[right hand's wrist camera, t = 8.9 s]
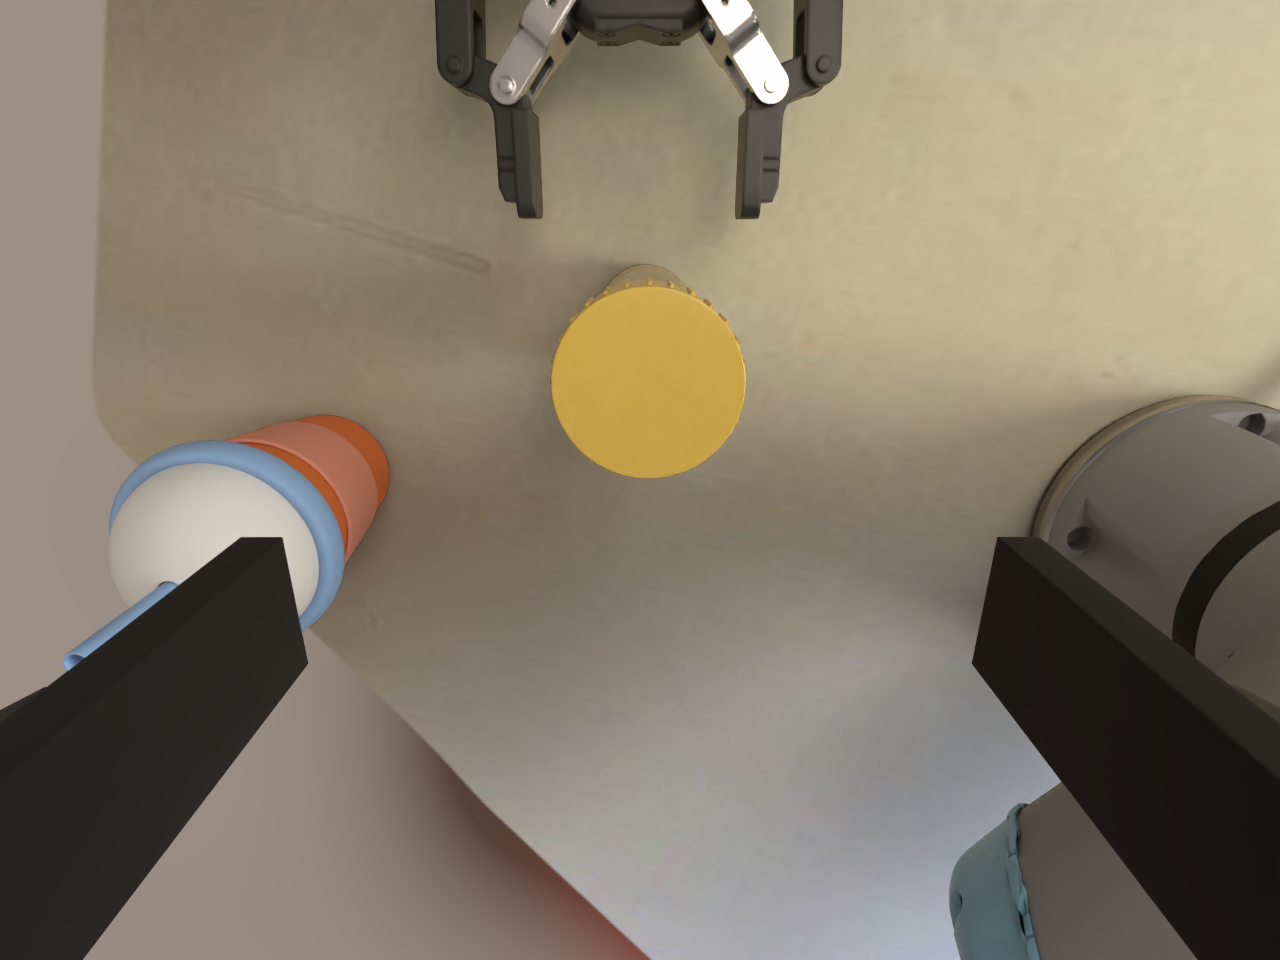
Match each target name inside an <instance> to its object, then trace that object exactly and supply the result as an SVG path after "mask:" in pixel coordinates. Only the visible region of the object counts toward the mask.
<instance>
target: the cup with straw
mask: <svg viewBox="0 0 1280 960" xmlns="http://www.w3.org/2000/svg"><path fill="white" fill-rule="evenodd" d="M388 485H389V467H388V463H387V459H386V457H385V454H384V452H383V450H382V448H381V447H380V445H379V444H378V442H377V441H376V440H375V439H374V437H373V436H372V435H371V434H370V433H369V432H367V431H366V430H365V429H364V428H362V427H361V426H359V425H358V424H356V423H354V422H352V421H350V420H347V419H344V418H341V417H337V416H331V415H316V416H311V417H307V418H303V419H300V420H297V421H294V422H282V423H277V424H274V425H270V426H267V427H264V428H261V429H258V430H255V431H252V432H249V433H246V434H243V435H240V436H237V437H234V438H231V439H227V440H224V441H216V440H208V441H195V442H188V443H184V444H180V445H176V446H173V447H171V448H168V449H165V450H163V451H161V452H159V453H157V454H155V455H153V456H152V457H150V458H149V459H147V460H146V461H144V462H143V463H142V464H141V465H139V466H138V467H137V468H136V469H135V470H134V471H133V472H132V473H131V474H130V475H129V477H128V478H127V479H126V480H125V482H124V483H123V484H122V486H121V487H120V489H119V491H118V493H117V495H116V497H115V500H114V503H113V506H112V510H111V514H110V522H109V543H108V563H109V569H110V573H111V577H112V580H113V583H114V585H115V587H116V590H117V591H118V593H119V595H120V597H121V598H122V600H123V601H124V603H125V604H126V605H127V607H128V608H129V609H128V610H126V611H125V612H123V613H122V614H121V615H119V616H118V617H117V618H115V619H114V620H113V621H111V622H110V623H108V624H107V625H106V626H104V627H103V628H102V629H100V630H99V631H97V632H96V633H95V634H93V635H92V636H91V637H89V638H88V639H87V640H85V641H84V642H82V643H81V644H80V645H78V646H77V647H76V648H74V649H73V650H72V651H70V652H69V653H67V654H66V655H65V656H64V658H63V666H64V668H65V669H66V670H67V671H69V670H70V669H71V668H72V667H74V666H75V665H76V664H78V663H79V662H80V661H81V660H83V659H84V658H85V657H87V656H88V655H89V654H90V653H92V652H93V651H94V650H96V649H97V648H98V647H100V646H101V645H102V644H103V643H105V642H106V641H107V640H109V639H110V638H111V637H112V636H114V635H115V634H116V633H118V632H119V631H120V630H121V629H123V628H124V627H125V626H127V625H128V624H129V623H131V622H132V621H133V620H134V619H136V618H137V617H138V616H140V615H141V614H142V613H143V612H145V611H146V610H147V609H149V608H150V607H151V606H152V605H154V604H155V603H156V602H158V601H159V600H160V599H161V598H163V597H164V596H165V595H167V594H168V593H169V592H171V591H172V590H173V589H174V588H176V587H177V586H178V585H180V584H181V583H182V582H183V581H185V580H186V579H187V578H189V577H190V576H191V575H192V574H194V573H195V572H196V571H198V570H199V569H200V568H202V567H203V566H204V565H205V564H207V563H208V562H209V561H211V560H212V559H213V558H214V557H216V556H217V555H218V554H220V553H221V552H222V551H223V550H225V549H226V548H227V547H229V546H230V545H231V544H232V543H234V542H235V541H236V540H238V539H239V538H240V537H283V542H284V547H285V552H286V557H287V562H288V567H289V572H290V577H291V581H292V586H293V591H294V596H295V601H296V606H297V611H298V616H299V621H300V626H301V631H304V630H305V629H307V628H308V627H310V626H311V625H312V624H314V623H315V622H316V621H317V620H318V619H319V618H320V617H321V616H322V615H323V614H324V612H325V611H326V610H327V609H328V608H329V606H330V605H331V603H332V602H333V600H334V598H335V596H336V594H337V592H338V590H339V587H340V584H341V581H342V577H343V573H344V566H345V564H346V563H347V561H348V559H349V558H350V556H351V555H352V553H353V552H354V550H355V549H356V547H357V546H358V544H359V543H360V541H361V540H362V538H363V536H364V535H365V533H366V532H367V530H368V529H369V527H370V526H371V524H372V521H373V519H374V517H375V513H376V510H377V508H378V507H379V505H380V504H381V502H382V501H383V499H384V497H385V495H386V492H387V489H388Z"/></svg>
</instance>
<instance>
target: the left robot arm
mask: <svg viewBox="0 0 1280 960" xmlns="http://www.w3.org/2000/svg"><path fill="white" fill-rule="evenodd" d="M723 1H724V2H726V3H727V5H724V4H723V3H722V2H723ZM552 2H555V3H556V4H555V5H554V6H550V5H551V3H552ZM435 15H436V42H437V65H438V70H439V72H440V74H441V76H442V77H443V78H444V79H445V80H446V81H447V82H448V83H450V84H451V85H452V86H454V87H455V88H456V89H458V90H459V91H460V92H462V93H463V94H464V95H466V96H470V97H474V98H477V99H479V100H482V101H484V102H487V103H489V105H490V106H491V108H492V110H493V114H494V120H495V135H496V150H497V165H498V180H499V188H500V191H501V193H502V195H503V197H504V200H505V201H506V202H510V203H517V212H518V216H519V218H523V219H542V217H543V200H542V179H541V158H540V137H539V118H538V117H537V116H536V114H535V113H534V112H533V111H532V106H533V104H534V103H535V101H536V99H537V98H538V96H539V95H540V93H541V91H542V90H543V88H544V87H545V85H546V83H547V82H548V80H549V78H550V77H551V75H552V74H553V72H554V71H555V70H556V69H557V68H558V67H559V66H560V65H561V64H562V63H563V61H564V60H565V58H566V57H567V55H568V53H569V52H570V50H571V49H572V47H573V45H574V44H575V42H576V41H577V39H578V37H579V36H580V34H581V33H582V34H583V35H584V36H586V37H587V38H589V39H591V40H593V41H596V42H597V43H598V46H620V45H623V44H626V43H630V42H633V41H636V40H642V41H646V42H649V43H652V44H655V45H659V46H680V44H681V41H684V40H686V39H688V38H690V37H692V36H693V35H695V34H696V33H698V34H699V36H700V37H701V39H702V40H703V42H704V44H705V45H706V47H707V48H708V50H709V52H710V53H711V55H712V56H713V58H714V59H715V61H716V62H717V64H718V65H719V66H720V67H721V68H723V69H724V71H725V72H726V73H727V75H728V77H729V78H730V80H731V81H732V83H733V85H734V86H735V88H736V89H737V91H738V93H739V94H740V96H741V97H742V99H743V100H744V102H745V104H746V107H745V111H744V113H743V114H742V115H741V116H740V118H739V131H738V154H737V177H736V200H735V217H736V219H758V218H759V214H760V205H761V203H769V202H772V201H773V199H774V196H775V194H776V192H777V189H778V184H779V168H780V152H781V136H782V120H783V114H784V110H785V108H786V106H787V105H788V104H789V103H791V102H793V101H796V100H798V99H801V98H803V97H806V96H812V95H814V94H816V93H817V92H818V91H820V90H821V89H822V88H823V86H825V85H827V84H828V83H830V82H831V81H832V80H833V79H834V78H835V77H836V76H837V74H838V73H839V70H840V67H841V47H842V17H843V0H794V24H793V59H791V60H788V61H786V62H783V63H781V64H780V62H779V61H778V59H777V57H776V56H775V54H774V52H773V51H772V49H771V47H770V46H769V44H768V42H767V41H766V39H765V37H764V36H763V34H762V32H761V30H760V28H759V24H758V20H757V17H756V15H755V13H754V11H753V9H752V8H751V6H750V4H749V3H748V1H747V0H531V1H530V2H529V4H528V6H527V7H526V9H525V11H524V13H523V15H522V17H521V19H520V22H519V27H518V30H517V33H516V34H515V36H514V38H513V40H512V41H511V43H510V45H509V46H508V48H507V50H506V51H505V53H504V55H503V56H502V58H501V60H500V61H499V63H498V64H496V63H493V62H491V61H488V60H486V32H485V0H435ZM564 26H565V29H564V30H563V28H564ZM713 26H714V28H713Z"/></svg>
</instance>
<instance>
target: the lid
mask: <svg viewBox="0 0 1280 960" xmlns="http://www.w3.org/2000/svg"><path fill="white" fill-rule="evenodd" d="M584 306H585V307H584V308H583V309H582V311H581V312H580V313H579V312H578V311H577V312H576V313H575V314H574V316H573V317H572V318H571V319H570V321H569V322H570V323H571V325H570V326H569V327H568V329H566V330H565V331H564V332H563V334H562V335H561V336H560V337H559V339H558V342H560V343H559V346H558V348H557V350H556V353H555V355H554V357H553V358H552V363H553V365H552V373H551V380H550V384H551V393H552V400H553V404H554V408H555V412H556V415H557V417H558V419H559V422H560V424H561V426H562V428H563V430H564V431H565V433H566V435H567V436H568V438H569V439H570V440H571V441H572V443H573V444H574V445H575V446H576V447H577V448H578V449H579V450H580V451H581V452H582V453H583V454H584V455H585V456H586V457H588V458H589V459H590V460H591V461H593V462H594V463H596V464H598V465H599V466H601V467H603V468H605V469H607V470H610V471H612V472H614V473H617V474H621V475H624V476H629V477H635V478H662V477H667V476H672V475H676V474H678V473H681V472H684V471H687V470H689V469H691V468H693V467H695V466H697V465H698V464H700V463H702V462H703V461H705V460H706V459H708V458H709V457H710V456H711V455H712V454H713V453H715V452H716V451H717V450H718V449H719V448H720V446H721V445H722V444H723V443H724V442H725V441H726V439H727V438H728V436H729V435H730V434H731V432H732V430H733V428H734V427H735V425H736V423H737V421H738V418H739V416H740V413H741V410H742V406H743V402H744V398H745V388H746V377H745V367H744V365H745V360H744V359H743V357H742V354H741V351H740V348H739V346H738V344H739V343H740V342H739V340H738V339H737V338H736V336H735V335H734V334H733V333H732V332H731V331H730V329H729V327H728V326H727V325H728V324H729V322H728V321H727V320H726V319H725V318H724V317H723V315H722V314H721V313H719V314H717V313H716V312H715V311H714V310H713V308H714V306H713V305H712V303H711V302H710V301H709V300H708V299H707V298H705V299H704V300H703V299H702V298H701V297H699V296H698V295H696V293H695V292H694V291H693V290H692V288H690V287H687V289H686V288H684V287H681V286H679V285H676V284H674V283H673V282H672V280H669V279H668V282H664V281H659V280H651V277H647V280H638V281H630V279H627V280H626V282H625V283H623V284H620V285H618V286H615V287H612V288H611V287H610V286H608V287H606V289H605V290H604V292H603V293H601V294H600V295H598V296H597V297H596V298H593V297H591V298H590V299H589V300H588V301H587V302H586V303H585V305H584Z"/></svg>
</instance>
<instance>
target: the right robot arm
mask: <svg viewBox="0 0 1280 960" xmlns="http://www.w3.org/2000/svg"><path fill="white" fill-rule="evenodd" d="M307 664H308V660H307V656H306V651H305V646H304V641H303V636H302V631H301V626H300V621H299V616H298V611H297V606H296V601H295V596H294V591H293V586H292V581H291V577H290V572H289V567H288V562H287V557H286V552H285V547H284V542H283V537H240V538H239V539H238V540H236V541H235V542H234V543H232V544H231V545H230V546H229V547H227V548H226V549H225V550H223V551H222V552H221V553H220V554H218V555H217V556H216V557H214V558H213V559H212V560H211V561H209V562H208V563H207V564H205V565H204V566H203V567H202V568H200V569H199V570H198V571H196V572H195V573H194V574H192V575H191V576H190V577H189V578H187V579H186V580H185V581H183V582H182V583H181V584H180V585H178V586H177V587H176V588H174V589H173V590H172V591H171V592H169V593H168V594H167V595H165V596H164V597H163V598H161V599H160V600H159V601H158V602H156V603H155V604H154V605H152V606H151V607H150V608H149V609H147V610H146V611H145V612H143V613H142V614H141V615H140V616H138V617H137V618H136V619H134V620H133V621H132V622H131V623H129V624H128V625H127V626H125V627H124V628H123V629H121V630H120V631H119V632H118V633H116V634H115V635H114V636H112V637H111V638H110V639H109V640H107V641H106V642H105V643H103V644H102V645H101V646H100V647H98V648H97V649H96V650H94V651H93V652H92V653H90V654H89V655H88V656H87V657H85V658H84V659H83V660H81V661H80V662H79V663H78V664H76V665H75V666H74V667H72V668H71V669H70V670H69V671H67V672H66V673H65V674H63V675H62V676H61V677H60V678H58V679H57V680H56V681H54V682H53V683H52V684H50V685H49V686H48V687H44V688H42V689H40V690H38V691H36V692H34V693H32V694H31V695H29V696H27V697H25V698H23V699H21V700H19V701H17V702H15V703H13V704H11V705H9V706H7V707H5V708H4V709H2V710H0V960H83V959H84V957H85V956H86V955H87V953H88V952H89V951H90V949H91V948H92V947H93V946H94V944H95V943H96V942H97V940H98V939H99V938H100V936H101V935H102V934H103V932H104V931H105V930H106V928H107V927H108V926H109V924H110V923H111V922H112V921H113V919H114V918H115V917H116V915H117V914H118V913H119V911H120V910H121V909H122V907H123V906H124V905H125V903H126V902H127V901H128V899H129V898H130V897H131V896H132V894H133V893H134V892H135V890H136V889H137V888H138V886H139V885H140V884H141V882H142V881H143V880H144V879H145V877H146V876H147V874H148V873H149V872H150V871H151V869H152V868H153V867H154V865H155V864H156V863H157V861H158V860H159V859H160V858H161V856H162V855H163V854H164V852H165V851H166V850H167V848H168V847H169V846H170V844H171V843H172V842H173V840H174V839H175V838H176V836H177V835H178V834H179V833H180V831H181V830H182V829H183V827H184V826H185V825H186V823H187V822H188V821H189V819H190V818H191V817H192V815H193V814H194V813H195V812H196V810H197V809H198V808H199V806H200V805H201V804H202V802H203V801H204V800H205V798H206V797H207V796H208V794H209V793H210V792H211V791H212V789H213V788H214V787H215V785H216V784H217V783H218V781H219V780H220V779H221V777H222V776H223V775H224V773H225V772H226V771H227V770H228V768H229V767H230V766H231V764H232V763H233V762H234V760H235V759H236V758H237V756H238V755H239V754H240V752H241V751H242V750H243V749H244V747H245V746H246V745H247V743H248V742H249V741H250V739H251V738H252V737H253V735H254V734H255V733H256V731H257V730H258V729H259V728H260V726H261V725H262V724H263V722H264V721H265V720H266V718H267V717H268V716H269V714H270V713H271V712H272V710H273V709H274V708H275V707H276V705H277V704H278V703H279V701H280V700H281V699H282V697H283V696H284V695H285V693H286V692H287V691H288V689H289V688H290V687H291V686H292V684H293V683H294V682H295V680H296V679H297V678H298V676H299V675H300V674H301V672H302V671H303V670H304V668H305V667H306V666H307ZM972 665H973V666H974V667H975V668H976V670H977V671H978V672H979V674H980V675H981V676H982V678H983V679H984V680H985V682H986V683H987V684H988V686H989V687H990V688H991V689H992V691H993V692H994V693H995V695H996V696H997V697H998V699H999V700H1000V701H1001V703H1002V704H1003V705H1004V707H1005V708H1006V709H1007V710H1008V712H1009V713H1010V714H1011V716H1012V717H1013V718H1014V720H1015V721H1016V722H1017V724H1018V725H1019V726H1020V728H1021V729H1022V730H1023V731H1024V733H1025V734H1026V735H1027V737H1028V738H1029V739H1030V741H1031V742H1032V743H1033V745H1034V746H1035V747H1036V749H1037V750H1038V751H1039V752H1040V754H1041V755H1042V756H1043V758H1044V759H1045V760H1046V762H1047V763H1048V764H1049V766H1050V767H1051V768H1052V770H1053V771H1054V772H1055V773H1056V775H1057V776H1058V777H1059V779H1060V780H1061V781H1062V782H1061V783H1060V784H1058V785H1057V786H1055V787H1054V788H1052V789H1051V790H1050V791H1048V792H1047V793H1045V794H1044V795H1042V796H1041V797H1040V798H1038V799H1037V800H1035V801H1034V802H1032V803H1031V804H1021V803H1019V804H1017V805H1016V806H1014V807H1013V808H1012V809H1011V810H1010V811H1009V814H1008V816H1007V819H1006V820H1005V821H1003V822H1002V823H1001V824H1000V825H998V826H997V827H996V828H995V829H993V830H992V831H991V832H990V833H988V834H987V835H986V836H984V837H983V838H982V839H981V840H979V841H978V842H977V843H976V844H974V845H973V846H972V847H971V848H969V849H968V850H967V851H966V852H965V853H964V854H963V855H962V856H961V857H960V858H959V860H958V862H957V863H956V865H955V867H954V870H953V873H952V877H951V882H950V888H949V905H950V913H951V918H952V923H953V926H954V936H955V940H956V944H957V947H958V951H959V955H960V958H961V960H1280V411H1279V410H1276V409H1274V408H1271V407H1268V406H1264V405H1261V404H1257V403H1254V402H1250V401H1247V400H1243V399H1238V398H1234V397H1227V396H1219V395H1199V396H1188V397H1182V398H1175V399H1171V400H1167V401H1163V402H1160V403H1157V404H1154V405H1151V406H1148V407H1145V408H1143V409H1141V410H1138V411H1136V412H1134V413H1132V414H1130V415H1128V416H1126V417H1124V418H1122V419H1120V420H1118V421H1117V422H1115V423H1113V424H1112V425H1110V426H1109V427H1107V428H1106V429H1104V430H1103V431H1101V432H1100V433H1099V434H1097V435H1096V436H1095V437H1093V438H1092V439H1091V440H1090V441H1089V442H1088V443H1086V444H1085V445H1084V446H1083V447H1082V448H1081V449H1080V450H1079V451H1078V452H1077V453H1076V454H1075V455H1074V456H1073V457H1072V458H1071V459H1070V460H1069V461H1068V463H1067V464H1066V465H1065V466H1064V467H1063V469H1062V470H1061V471H1060V473H1059V474H1058V475H1057V477H1056V478H1055V480H1054V481H1053V483H1052V484H1051V486H1050V488H1049V490H1048V491H1047V493H1046V495H1045V497H1044V499H1043V501H1042V504H1041V506H1040V508H1039V511H1038V514H1037V517H1036V520H1035V524H1034V528H1033V534H1032V537H997V542H996V547H995V552H994V557H993V562H992V567H991V572H990V576H989V581H988V586H987V591H986V596H985V601H984V606H983V611H982V616H981V621H980V626H979V631H978V636H977V641H976V646H975V651H974V656H973V660H972Z"/></svg>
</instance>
